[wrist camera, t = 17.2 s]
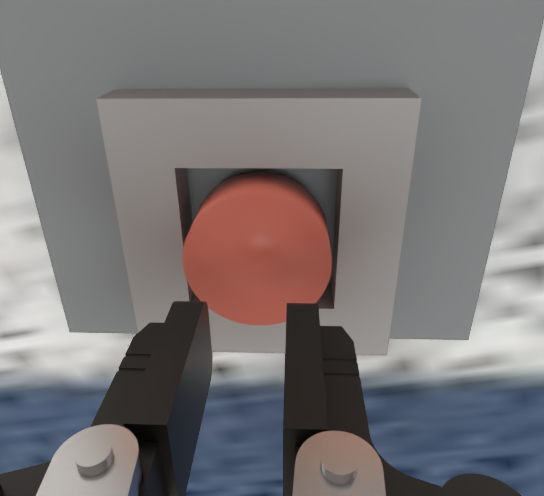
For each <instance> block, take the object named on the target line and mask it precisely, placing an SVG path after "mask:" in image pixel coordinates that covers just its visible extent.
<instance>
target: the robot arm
mask: <svg viewBox="0 0 544 496" xmlns="http://www.w3.org/2000/svg"><path fill="white" fill-rule="evenodd" d="M211 374H212V346H211V335H210V323H209V312H208V305H207V302H203V301H174V302H173V303H172V305H171V308H170V310H169V313H168V315H167V317H166V320H165V322H164V323H153V322H150V323H149V324H147V325H146V326H145V327H144V328H143V329H142V330H141V331H140V332H139V333H137V334H136V335H135V336H134V337H133V339H132V342H131V344H130V346H129V348H128V350H127V352H126V356H125V357H124V358H123V360H122V362H121V364H120V366H119V371H118V372H117V373H116V375H115V377H114V379H113V381H112V383H111V385H110V387H109V389H108V391H107V394H106V396H105V398H104V400H103V402H102V404H101V406H100V408H99V410H98V412H97V414H96V416H95V419H94V421H93V423H92V425H91V427H90V428H87V429H84V430H82V431H80V432H78V433H77V434H75V435H73V436H72V437H70V438H69V439H68V440H67V441H65V442H64V443H63V444H62V445H61V447H60V448H59V449H58V450H57V452H56V453H55V455H54V456H53V458H52V460H51V461H48V462H46V463H43V464H39V465H36V466H32V467H28V468H24V469H20V470H16V471H12V472H8V473H4V474H0V496H185V493H186V489H187V484H188V480H189V475H190V471H191V466H192V462H193V457H194V453H195V448H196V444H197V439H198V435H199V430H200V426H201V421H202V417H203V413H204V408H205V404H206V399H207V395H208V390H209V386H210V381H211ZM283 496H521V495H520V494H519V493H518V492H516V491H515V490H514V489H513V488H511V487H510V486H508V485H507V484H505V483H503V482H501V481H499V480H497V479H494V478H492V477H489V476H485V475H481V474H462V475H458V476H455V477H453V478H451V479H450V480H448V481H447V482H446V483H445V484H444V486H443V487H441V486H438V485H435V484H432V483H429V482H425V481H422V480H419V479H416V478H413V477H411V476H408V475H406V474H404V473H402V472H400V471H398V470H396V469H395V468H393V467H392V466H391V465H389V464H388V463H387V462H386V461H385V460H384V459H383V458H382V457H381V456H380V455H379V454H378V452H377V451H376V449H375V447H374V446H373V443H372V441H371V438H370V434H369V428H368V422H367V416H366V411H365V405H364V399H363V393H362V387H361V382H360V377H359V370H358V364H357V358H356V353H355V347H354V341H353V340H352V339H351V337H350V336H349V335H348V334H347V332H346V331H345V330H344V329H343V327H342V326H320V319H319V307H318V304H317V303H287V310H286V347H285V384H284V421H283Z"/></svg>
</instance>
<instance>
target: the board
mask: <svg viewBox="0 0 544 496" xmlns="http://www.w3.org/2000/svg"><path fill="white" fill-rule="evenodd" d="M543 19H544V0H0V70H1V74H2V78H3V82H4V85H5V89H6V93H7V97H8V101H9V104H10V108H11V112H12V116H13V119H14V123H15V127H16V131H17V135H18V138H19V142H20V146H21V150H22V153H23V157H24V161H25V165H26V169H27V172H28V176H29V180H30V184H31V187H32V191H33V195H34V199H35V203H36V206H37V210H38V214H39V218H40V221H41V225H42V229H43V233H44V237H45V240H46V244H47V248H48V252H49V256H50V259H51V263H52V267H53V271H54V274H55V278H56V282H57V286H58V290H59V293H60V297H61V301H62V305H63V308H64V312H65V316H66V320H67V324H68V327H69V331H70V332H88V333H139V332H140V331H141V330H142V329H143V328H144V327H145V326H146V325H147V324H149V323H150V322H153V323H164V322H165V320H166V317H167V315H168V313H169V310H170V308H171V305H172V303H173V302H174V301H200V300H199V298H198V297H197V296H196V295H195V293H194V292H193V291H192V289H191V287H190V285H189V283H188V281H187V279H186V276H185V273H184V268H183V257H182V255H183V247H184V243H185V240H186V237H187V235H188V233H189V230H190V228H191V226H192V224H193V222H194V219H195V217H196V215H197V213H198V211H199V209H200V206H201V204H202V203H203V201H204V199H205V198H206V196H207V195H208V194H209V193H210V192H211V191H212V190H213V189H214V188H215V187H216V186H217V185H219V184H220V183H222V182H223V181H225V180H227V179H229V178H231V177H233V176H236V175H239V174H243V173H248V172H271V173H276V174H280V175H283V176H286V177H288V178H290V179H292V180H294V181H296V182H298V183H299V184H301V185H302V186H304V187H305V188H306V189H307V190H308V191H309V192H310V193H311V194H312V195H313V196H314V197H315V198H316V200H317V201H318V203H319V204H320V206H321V208H322V210H323V212H324V215H325V218H326V222H327V228H328V235H329V242H330V249H331V256H332V269H331V276H330V279H329V282H328V285H327V287H326V289H325V291H324V293H323V294H322V296H321V297H320V298H319V300H318V301H317V302H316V303H317V304H318V307H319V319H320V326H342V327H343V329H344V330H345V331H346V332H347V334H348V335H349V336H350V337H351V339H352V340H353V341H354V347H355V353H356V355H387V351H388V343H389V338H392V339H442V340H468V339H469V334H470V330H471V326H472V322H473V317H474V313H475V309H476V305H477V300H478V296H479V292H480V288H481V283H482V279H483V275H484V271H485V266H486V262H487V258H488V254H489V249H490V245H491V241H492V237H493V232H494V228H495V224H496V219H497V215H498V211H499V207H500V202H501V198H502V194H503V190H504V185H505V181H506V177H507V173H508V168H509V164H510V160H511V156H512V151H513V147H514V143H515V139H516V134H517V130H518V126H519V122H520V117H521V113H522V109H523V105H524V100H525V96H526V92H527V88H528V83H529V79H530V75H531V71H532V66H533V62H534V58H535V54H536V49H537V45H538V41H539V37H540V32H541V28H542V24H543ZM208 312H209V323H210V335H211V346H212V352H248V353H285V347H286V322H282V323H278V324H273V325H260V326H258V325H247V324H242V323H238V322H234V321H231V320H229V319H226V318H224V317H222V316H220V315H218V314H216V313H215V312H213V311H212V310H211V309H209V308H208Z"/></svg>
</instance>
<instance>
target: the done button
mask: <svg viewBox="0 0 544 496" xmlns="http://www.w3.org/2000/svg"><path fill="white" fill-rule="evenodd" d="M182 257H183V268H184V273H185V276H186V279H187V281H188V283H189V285H190V287H191V289H192V291H193V292H194V293H195V295H196V296H197V297H198V298H199V300H200V301H203V302H207V305H208V308H209V309H211V310H212V311H213V312H215V313H216V314H218V315H220V316H222V317H224V318H226V319H229V320H231V321H234V322H238V323H242V324H247V325H258V326H260V325H273V324H278V323H282V322H286V310H287V303H316V302H317V301H318V300H319V298H320V297H321V296H322V294H323V293H324V291H325V289H326V287H327V285H328V282H329V279H330V276H331V269H332V256H331V249H330V242H329V235H328V228H327V222H326V218H325V215H324V212H323V210H322V208H321V206H320V204H319V203H318V201H317V200H316V198H315V197H314V196H313V195H312V194H311V193H310V192H309V191H308V190H307V189H306V188H305V187H304V186H302V185H301V184H299V183H298V182H296V181H294V180H292V179H290V178H288V177H286V176H283V175H280V174H276V173H271V172H248V173H243V174H239V175H236V176H233V177H231V178H229V179H227V180H225V181H223V182H222V183H220V184H219V185H217V186H216V187H215V188H214V189H213V190H212V191H211V192H210V193H209V194H208V195H207V196H206V198H205V199H204V201H203V203H202V204H201V206H200V209H199V211H198V213H197V215H196V217H195V219H194V222H193V224H192V226H191V228H190V230H189V233H188V235H187V237H186V240H185V243H184V247H183V255H182Z"/></svg>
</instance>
